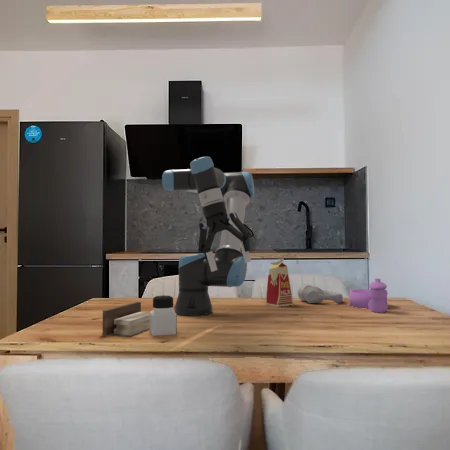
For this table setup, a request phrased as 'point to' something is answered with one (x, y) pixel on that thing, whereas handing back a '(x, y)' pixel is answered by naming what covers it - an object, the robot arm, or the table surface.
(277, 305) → the milk carton
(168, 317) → the medicine bottle
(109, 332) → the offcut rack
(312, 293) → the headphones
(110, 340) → the table surface
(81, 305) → the table surface
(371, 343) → the table surface
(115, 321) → the offcut stack
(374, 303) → the container set
